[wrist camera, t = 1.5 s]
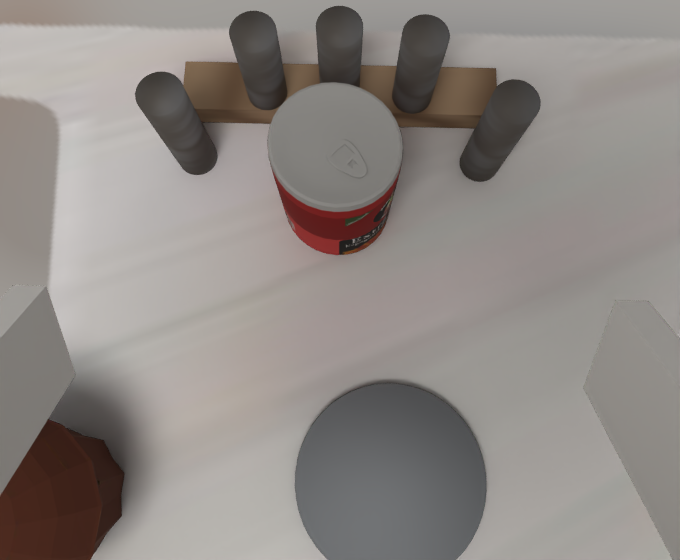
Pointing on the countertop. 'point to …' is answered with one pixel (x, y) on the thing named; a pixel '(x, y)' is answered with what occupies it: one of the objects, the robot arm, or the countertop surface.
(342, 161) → the canned food
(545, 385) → the countertop surface
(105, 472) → the muffin
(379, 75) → the spacer rack
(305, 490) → the mat
